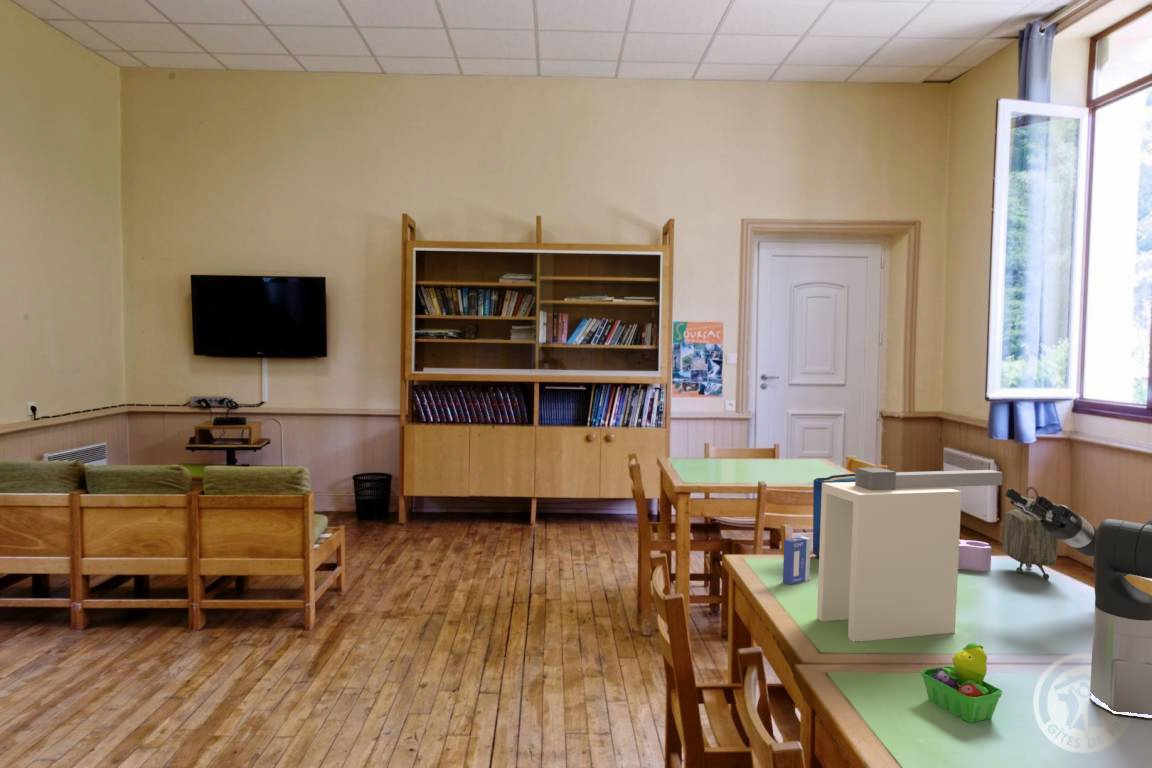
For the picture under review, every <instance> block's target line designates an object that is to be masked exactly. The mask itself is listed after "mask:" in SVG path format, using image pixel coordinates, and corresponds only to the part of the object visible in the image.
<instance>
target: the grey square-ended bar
mask: <svg viewBox="0 0 1152 768" xmlns="http://www.w3.org/2000/svg"><path fill="white" fill-rule="evenodd" d="M855 474H856V476H855V486H859V487H862V488H865V489H868V490H895V489H896V488H927V487H947V488H950V487H953V488H954V487H980V486H981V487H982V486H983V487H984V486H988V487H989V486H1002V485H1003V472H1002V471H998V470H994V469H973V470H972V469H971V470H970V469H969V470H936V471H935V470H934V471H928V470H927V471H897V472H896V471H894V470H891V469H888V468H887V469H886V468H882V467H855Z"/></svg>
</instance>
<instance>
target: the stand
mask: <svg viewBox="0 0 1152 768" xmlns="http://www.w3.org/2000/svg"><path fill="white" fill-rule="evenodd" d="M962 494H963V493H962V491H961V490H957V489H954V488H950V487H927V488H896V489H895V490H868V489H865V488H862V487H859V486H855V482H835V483H822V496H821V523H820V550H819V558H818V577H817V578H818V579H817V580H818V581H817V582H818V583H817V609H816V619H817V620H819V621H820V622H834V620H835V621H846V620H847V621H848V628H847V629H848V630H847V639H848V638H849V639H848V640H849V641H851V640H852V641H851V642H852V643H855V641H856V643H857V641H859V642H867V641H878V640H888V639H889V640H890V639H899V638H910V637H911V638H912V637H920V636H921V637H924V636H933V635H944V634H955V633H956V617H957V598H958V597H957V596H958V579H959V577H958V574H959V569H958V557H959V539H960V534H961V516H962V515H961V512H962V509H961V508H962Z"/></svg>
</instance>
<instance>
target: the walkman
mask: <svg viewBox="0 0 1152 768" xmlns="http://www.w3.org/2000/svg"><path fill="white" fill-rule="evenodd" d="M811 540H812V539H811V537H807V536H803V535H802V536H797V537H793V538H792V537H791V538H787V539H786V538H785V539H784V540H783V567H782V583H785V584H787V585H789V586H793V585H796V584H800V583H805V582H808V581H810V566H811V565H810V564H811V543H812V541H811Z"/></svg>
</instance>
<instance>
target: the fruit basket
mask: <svg viewBox="0 0 1152 768" xmlns="http://www.w3.org/2000/svg"><path fill="white" fill-rule="evenodd" d="M987 660H988V656H987V653H986V651H984V647H983V646H982V645H981V644H977V643H975V642H970V643H968V644H966V646H964V647H963V648H962V650H960V651H958V652H957V653H955V654H954V655H953V656H952V660H951V661H952V664H953V666H948V665H946V666H939V667H931V668H927V669H926V668H925V669H923V670H920V673H921V676H922V678H923V682H924V686H925V690H926V693H927V698H928V700H929V701H930V702H931V703H934V704H935V705H938V706H939V707H941V708H943V709H945V710H946V711H949V712H950V713H951V714H953V715H955V716H956V717H959V718H961V719H962V720H964V721H966V722H967V723H969V724H971V723H974V722H981V721H985V720H987V719H988V720H990V719H992V718H993V715H994V713H995V710H996V707H997V704H998V702H999V699H1000V698H1001V697H1002V695H1003V690H1001V689H1000V688H998V687H996V686H994V685H992V684H990V683H988V682H986V681H984V679H985V677H986V675H987V670H988V669H987Z"/></svg>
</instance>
